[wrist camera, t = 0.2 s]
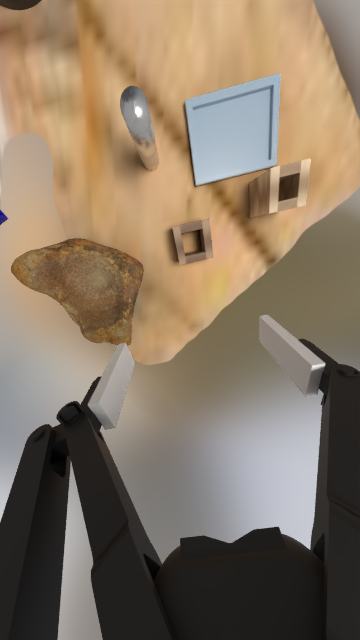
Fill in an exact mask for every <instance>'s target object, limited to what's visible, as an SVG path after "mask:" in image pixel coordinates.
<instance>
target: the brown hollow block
mask: <svg viewBox="0 0 360 640" xmlns="http://www.w3.org/2000/svg"><path fill="white" fill-rule="evenodd" d="M172 229H173V234H174V239H175V244H176V249H177V254H178V259H179V264H180V265H182V264H187V263H191V262H196V261H200V260H205V259H209V258H213V249H212V240H211V231H210V221H209V218H208V219H204V220H200V221H196V222H191V223H187V224H183V225H179V226H174V227H172ZM195 230H199V232H200V240H201V247H202V250H200V251H195V252H191V253H186V254H185V253H184V247H183V242H182V236H181V234H182V233H186V232H190V231H195Z"/></svg>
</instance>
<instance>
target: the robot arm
mask: <svg viewBox="0 0 360 640" xmlns="http://www.w3.org/2000/svg"><path fill="white" fill-rule="evenodd" d="M40 1H41V0H0V5H1V6H3V7H6V8H9V9H14V10H25V9H29V8H31V7H33V6H35V5H37V4H38V3H39V2H40ZM259 341H260V342H261V343H262V344H263V346H264V347H265V348H266V349H267V350H268V352H269V353H270V354H271V355H272V357H273V358H274V359H275V360H276V362H277V363H278V364H279V365H280V366H281V368H282V369H283V370H284V371H285V373H286V374H287V375H288V376H289V377H290V379H291V380H292V381H293V382H294V384H295V385H296V386H297V387H298V388H299V390H300V391H301V392H302V393H303V395H304V396H305V397H307V396H313V395H317V394H318V390H319V389H320V390H321V391H322V392H323V393H324V395H323V398H322V402H321V405H322V417H321V432H320V446H319V460H318V474H317V489H316V503H315V517H314V524H313V529H312V536H311V548H310V550H309V549H308V548H307V547H305V546H304V545H303V544H301V543H300V542H298V541H297V540H295V539H293V538H291V537H289V536H287V535H284V534H281V532H280V529H279V527H273V528H264V529H256V530H253V531H251V532H249V533H248V534H246V535H244V536H243V537H241V538H239V539H238V540H236V541H234V542H233V543H226V542H223V541H220V540H217V539H213V538H210V537H207V536H196V537H187V538H181V539H180V546H179V547H177V548H176V549H175V550H174V551H173V552H172V553H171V554H170V555H169V556H168V557H167V558H166V560H165V561H164V563H163V564H162V563H161V561H160V559H159V557H158V554H157V553H156V551H155V549H154V547H153V546H152V544H151V543H150V540H149V538H148V537H147V534H146V532H145V530H144V527H143V525H142V523H141V521H140V519H139V516H138V514H137V512H136V510H135V507H134V505H133V503H132V501H131V498H130V496H129V494H128V492H127V490H126V487H125V486H124V483H123V480H122V478H121V476H120V474H119V472H118V469H117V467H116V465H115V463H114V460H113V458H112V456H111V454H110V451H109V449H108V447H107V445H106V442H105V441H104V438H103V436H102V434H101V432H100V428H101V425H102V426H103V427H104V429H105V430H106V429H112V428H116V424H117V421H118V417H119V414H120V411H121V408H122V404H123V401H124V397H125V394H126V391H127V388H128V384H129V381H130V378H131V375H132V371H133V368H134V364H135V363H134V360H133V358H132V356H131V353H130V351H129V349H128V347H127V344H126V343H121V344H118V346H117V348H116V350H115V352H114V354H113V356H112V358H111V360H110V362H109V364H108V365H107V367H106V369H105V371H104V373H103V375H102V377H98V378H97V379H96V380H95V381H94V382H93V383H92V385H91V387H90V389H89V390H88V392H87V394H86V396H85V398H84V400H83V401H82V403H81V405H80V404H79V403H78V402H77V401H73V402H70V403H68V404H66V405H65V406H64V407H63V408H62V409H61V410H60V411H59V412H58V414H57V420H58V421H59V422H60V423H61V424H60V425H58V426H55V427H53V428H52V427H51V426H50V425H49V424H45V425H43V426H40V427H39V428H37V429H36V430H35V431H34V432H33V433H32V434H31V435H30V436H29V437H28V439H27V442H26V444H25V448H24V451H23V454H22V457H21V460H20V463H19V466H18V469H17V472H16V475H15V478H14V482H13V485H12V488H11V491H10V494H9V497H8V500H7V503H6V507H5V510H4V513H3V516H2V519H1V522H0V640H57V638H58V624H59V611H60V597H61V584H62V570H63V557H64V544H65V530H66V517H67V503H68V490H69V477H70V461H71V462H72V466H73V471H74V475H75V480H76V484H77V489H78V493H79V498H80V502H81V507H82V511H83V515H84V520H85V524H86V529H87V533H88V538H89V542H90V547H91V551H92V556H93V567H92V570H91V582H92V588H93V593H94V598H95V603H96V608H97V613H98V618H99V623H100V628H101V633H102V638H103V640H360V372H359V371H358V370H357V369H355V368H353V367H351V366H348V365H342V364H338V363H337V362H336V361H334V360H333V359H332V358H331V357H329V356H328V355H327V354H325V353H324V352H323V351H321V350H320V349H319V348H317V347H316V346H315V345H314V344H312V343H311V342H309V341H307V340H305V339H299V340H297V339H296V338H295V337H293V336H292V335H291V334H290V333H289V332H288V331H286V330H285V329H284V328H283V327H282V326H280V325H279V324H278V323H277V322H276V321H274V320H273V319H272V318H271V317H269V315H264V316H260V317H259Z"/></svg>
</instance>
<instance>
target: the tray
mask: <svg viewBox="0 0 360 640" xmlns="http://www.w3.org/2000/svg"><path fill="white" fill-rule="evenodd" d="M280 78H281V73H278V74H275V75H271V76H268V77H264V78H261V79H257V80H254V81H250V82H247V83H243V84H240V85H236V86H233V87H229V88H225V89H222V90H218V91H215V92H211V93H208V94H204V95H201V96H197V97H194V98H190V99H187V100H185V111H186V118H187V126H188V134H189V141H190V149H191V157H192V164H193V172H194V180H195V187H197V186H201V185H205V184H209V183H213V182H217V181H221V180H225V179H229V178H233V177H237V176H241V175H245V174H249V173H253V172H257V171H261V170H265V169H269V168H273V167H274V166H276V165H277V144H278V122H279V100H280Z"/></svg>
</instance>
